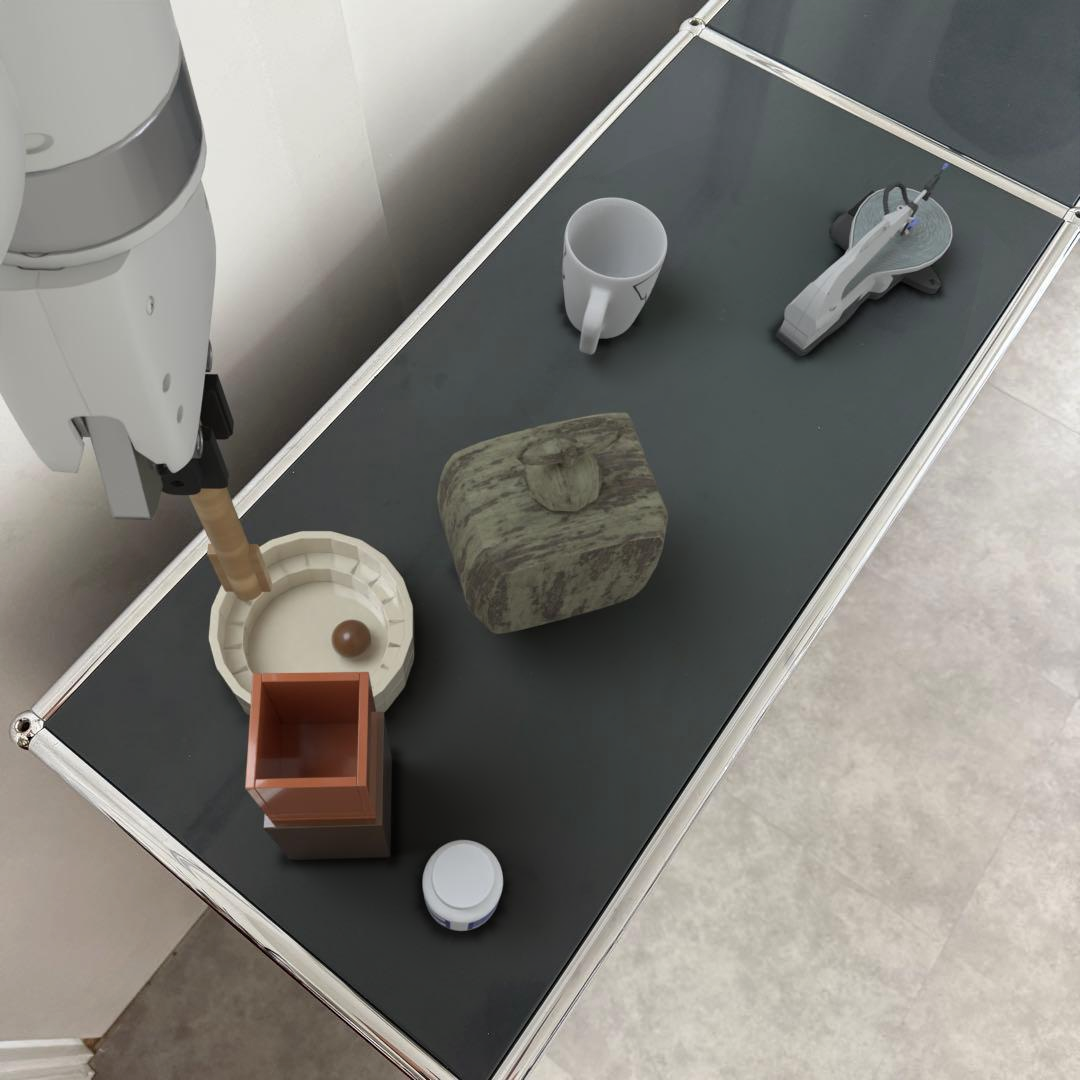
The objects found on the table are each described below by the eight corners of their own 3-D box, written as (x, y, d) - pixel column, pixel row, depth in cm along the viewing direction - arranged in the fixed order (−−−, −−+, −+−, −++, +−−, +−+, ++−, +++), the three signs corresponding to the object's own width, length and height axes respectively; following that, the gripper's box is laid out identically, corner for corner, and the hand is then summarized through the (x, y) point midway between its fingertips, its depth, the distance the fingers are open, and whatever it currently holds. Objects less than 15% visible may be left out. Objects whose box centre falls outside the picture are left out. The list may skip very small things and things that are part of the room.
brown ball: (332, 665, 83) (328, 652, 80) (333, 627, 84) (330, 613, 81) (372, 664, 83) (370, 652, 80) (373, 627, 84) (371, 613, 81)
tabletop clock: (608, 514, 90) (665, 340, 68) (644, 614, 87) (718, 466, 64) (436, 557, 87) (436, 390, 65) (468, 662, 84) (479, 525, 61)
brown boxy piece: (289, 860, 77) (236, 796, 57) (294, 760, 80) (245, 666, 59) (390, 857, 78) (373, 793, 57) (391, 758, 81) (376, 664, 60)
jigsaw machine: (879, 317, 88) (769, 231, 90) (835, 388, 97) (737, 309, 100) (1016, 187, 95) (911, 111, 97) (963, 266, 104) (868, 194, 107)
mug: (627, 389, 95) (647, 321, 86) (533, 363, 96) (543, 293, 87) (655, 286, 100) (677, 212, 91) (566, 262, 100) (579, 185, 91)
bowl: (217, 743, 80) (201, 721, 75) (231, 563, 86) (217, 531, 80) (413, 739, 81) (412, 718, 76) (414, 562, 87) (413, 530, 82)
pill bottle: (499, 853, 79) (506, 832, 70) (498, 931, 76) (505, 919, 68) (424, 852, 78) (423, 831, 70) (421, 931, 76) (419, 918, 68)
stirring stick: (270, 601, 58) (193, 403, 40) (224, 601, 58) (124, 401, 39) (272, 573, 58) (197, 365, 40) (226, 572, 58) (130, 363, 40)
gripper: (-50, -103, 31) (122, 295, 48) (-184, 372, 25) (68, 639, 41) (223, -88, 32) (298, 300, 48) (161, 380, 25) (272, 640, 42)
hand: (191, 455), depth 45 cm, fingers closed on stirring stick, 1 cm apart
